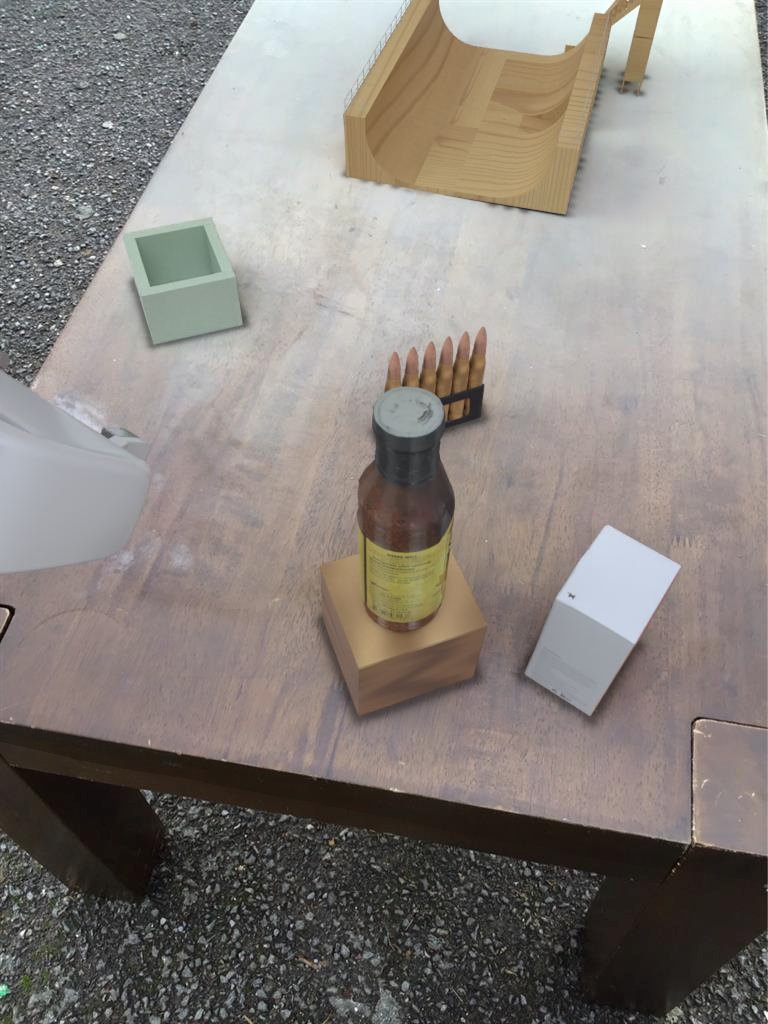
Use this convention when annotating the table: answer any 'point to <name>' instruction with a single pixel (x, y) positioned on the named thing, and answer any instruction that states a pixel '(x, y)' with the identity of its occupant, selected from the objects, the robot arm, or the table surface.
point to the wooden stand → (399, 640)
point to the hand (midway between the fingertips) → (63, 407)
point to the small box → (600, 618)
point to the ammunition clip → (447, 376)
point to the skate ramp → (482, 110)
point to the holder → (179, 258)
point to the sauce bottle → (405, 512)
